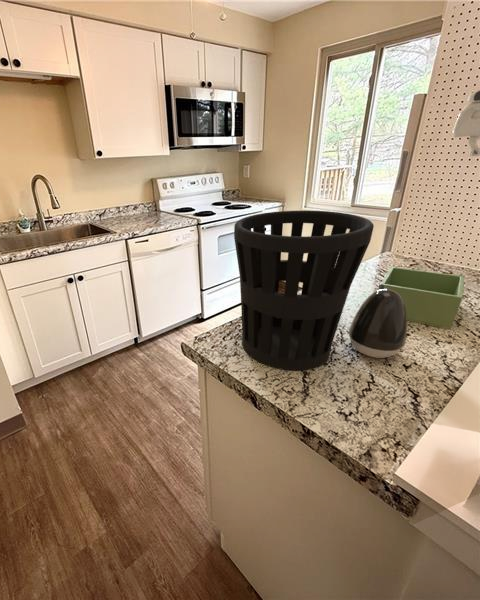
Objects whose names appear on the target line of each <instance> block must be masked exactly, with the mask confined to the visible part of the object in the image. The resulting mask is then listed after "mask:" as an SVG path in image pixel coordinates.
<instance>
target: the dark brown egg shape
mask: <svg viewBox="0 0 480 600" xmlns="http://www.w3.org/2000/svg"><path fill="white" fill-rule="evenodd" d="M380 284H381V283H380ZM380 284H379V285H378V286H377V287H378V289H376V290H375V291H374V292H372V293H371V294H370V295H368V297H367V298H366V299H365V300H364V301H363V302H362V304H361V305H360V307H359V308H358V310H357V311H356V313H355V315H354V317H353V318H352V321H351V323H350V325H349V328H348V336H349V340H350V343H351V345H352V346H353V348H354V349H355V350H356V351H358V352H359V353H361V354H362V355H365V356H367V357H370V358H377V359H385V358H389V357H392V356H394V355H396V354H397V353H399V351H400V350H401V349H402V348H404V347H405V345H406V343H407V335H408V320H407V315H406V308H405V304H404V302H403V299H402V298H401V296H400V295H399V294H398V293H397V292H395V291H393V290H390V289H385V286H384V285H382V284H381V285H380Z"/></svg>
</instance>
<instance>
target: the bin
mask: <svg viewBox="0 0 480 600" xmlns="http://www.w3.org/2000/svg"><path fill="white" fill-rule="evenodd" d="M465 278H466V276H465V275H457V274H449V273H443V272H436V271H435V272H434V271H427V270H420V269H413V268H405V267H398V266H397V267H396V266H390V268H389V269H388V270H387V272H386V274H385V276H384V277H383V279H382V280H381V282H380V283H379V285H381V284H382V285H384V286H385V289H390V290H393V291H395V292H397V293H398V294H399V295H400V296H401V298H402V299H403V302H404V304H405V308H406V315H407V321H409V322H414V323H418V324H422V325H427V326H432V327H436V328H441V329H445V330H451V328H452V326H453V323H454V321H455V318H456V316H457V313H458V310H459V308H460V306H461V303H462V300H463V296H464V287H465Z"/></svg>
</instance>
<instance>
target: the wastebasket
mask: <svg viewBox="0 0 480 600" xmlns="http://www.w3.org/2000/svg"><path fill="white" fill-rule="evenodd" d="M284 224H291V230H290V231H291V232H290V235H283V229H284ZM304 224H312V229H311V234H310V236H309V235H308V236H303V229H304ZM266 226H270V234H269V233H266ZM327 226H332V229H331V231H330V232H331V233H330V235H325V231H326V227H327ZM374 226H375V225H374V223H373V222H372V220H370V219H368V218H366V217H363V216H359V215H355V214H351V213H346V212H339V211H329V210H282V211H281V210H280V211H271V212H264V213H262V212H261V213H257V214H252V215H249V216H244V217H241V218H240V219H238V220H237V221H236V222H235V223H234V226H233V227H234V228H233V239H234V247H235V252H236V259H237V265H238V273H239V287H240V307H241V309H240V310H241V328H242V329H241V331H242V333H241V345H242V348H243V350H244V351H245V353H246V354H247V355H248V356H249V357H250V358H251V359H253V360H255V361H256V362H258V363H260V364H262V365H264V366H267V367H270V368H274V369H277V370H283V371H291V372H303V371H309V370H315V369H317V368H320V367H322V366H323V365H324V364H326V363H327V362H328V360H330V359H329V358H330V355H331V350H332V345H333V342H334V338H335V336H336V332H337V329H338V326H339V323H340V321H341V317H342V314H343V311H344V308H345V306H346V305H345V304H346V302H347V301H346V300H347V299H348V295H349V292H350V289H351V286H352V284H353V281H354V279H355V277H356V275H357V273H358V270H359V268H360V265H361V263H362V261H363V258H364V256H365V254H366V252H367V250H368V247H369V245H370V243H371V240H372V236H373V232H374ZM347 230H349V231H348V232H347ZM282 253H285V254H287V259H282ZM305 254H307V256H306V260H304V255H305ZM280 282H285V283H284V284H285V285H284V292H279V288H280V287H279V286H280ZM300 283H301V284H302V285H301V293H300V294H298V292H299V286H300Z"/></svg>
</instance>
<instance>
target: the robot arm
mask: <svg viewBox="0 0 480 600" xmlns="http://www.w3.org/2000/svg"><path fill="white" fill-rule="evenodd" d="M467 103H468V104H466V105H465V106H464V107H463V108H462V109H461V111H460V113H459V114H458V117H457V119H456V121H455V124H454V126H453V130H452V135H453V137H454V138H464V137H469V138H468V144H469V147H470V149H471V150H470V153H469V156H470V157H480V147H479V146H478V143H477V141H479V140H480V89H477V90H475V91H473V92H471V93H469V95H468V97H467Z"/></svg>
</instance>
